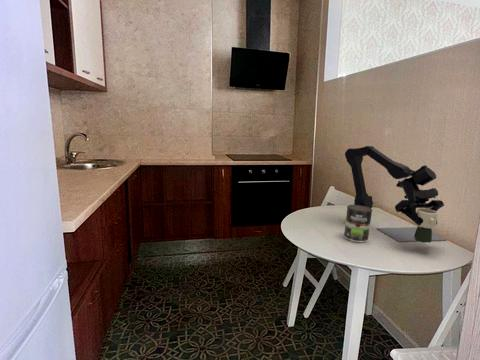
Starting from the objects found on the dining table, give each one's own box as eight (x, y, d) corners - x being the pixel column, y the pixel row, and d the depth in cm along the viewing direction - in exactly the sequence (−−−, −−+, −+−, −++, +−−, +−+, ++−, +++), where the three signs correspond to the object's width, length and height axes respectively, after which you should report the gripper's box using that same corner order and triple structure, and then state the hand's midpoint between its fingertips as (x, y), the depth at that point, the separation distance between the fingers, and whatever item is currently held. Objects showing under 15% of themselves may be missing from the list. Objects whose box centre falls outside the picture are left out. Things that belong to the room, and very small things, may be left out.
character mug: (407, 235, 124) (412, 206, 122) (425, 237, 123) (430, 207, 121) (418, 245, 114) (424, 214, 111) (438, 247, 113) (444, 215, 110)
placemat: (399, 242, 127) (399, 241, 127) (376, 229, 143) (376, 228, 143) (446, 240, 131) (446, 239, 131) (419, 228, 147) (419, 227, 147)
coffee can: (368, 244, 124) (373, 212, 121) (343, 240, 128) (346, 209, 125) (367, 236, 133) (371, 206, 131) (344, 232, 137) (347, 203, 134)
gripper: (404, 180, 116) (420, 216, 108) (444, 181, 119) (463, 215, 111) (388, 194, 125) (402, 228, 117) (426, 194, 128) (442, 227, 120)
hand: (427, 224), depth 116 cm, fingers closed on character mug, 7 cm apart
